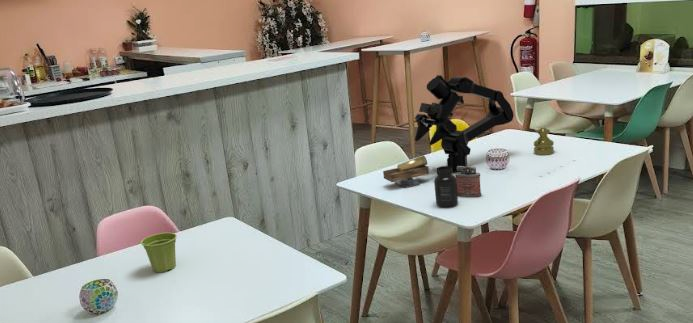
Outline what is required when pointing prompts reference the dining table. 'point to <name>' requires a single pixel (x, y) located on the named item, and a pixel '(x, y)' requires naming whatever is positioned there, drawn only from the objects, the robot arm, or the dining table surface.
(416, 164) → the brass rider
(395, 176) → the brown wooden tray
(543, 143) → the olive tiered piece
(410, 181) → the stand
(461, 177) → the lighter
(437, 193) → the supplement bottle
